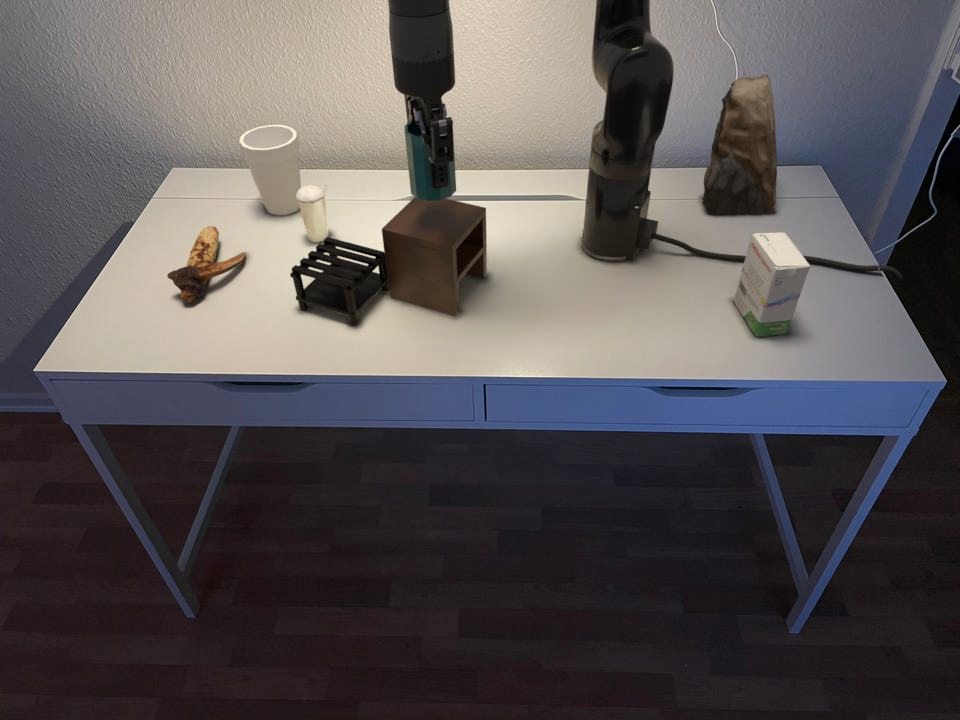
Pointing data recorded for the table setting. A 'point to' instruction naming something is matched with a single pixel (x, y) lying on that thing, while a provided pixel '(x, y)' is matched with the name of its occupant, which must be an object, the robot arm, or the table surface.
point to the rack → (340, 278)
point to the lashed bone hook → (202, 265)
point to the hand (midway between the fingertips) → (432, 174)
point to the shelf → (434, 251)
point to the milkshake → (313, 212)
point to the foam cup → (274, 165)
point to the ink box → (770, 283)
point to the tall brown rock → (743, 152)
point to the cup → (425, 168)
